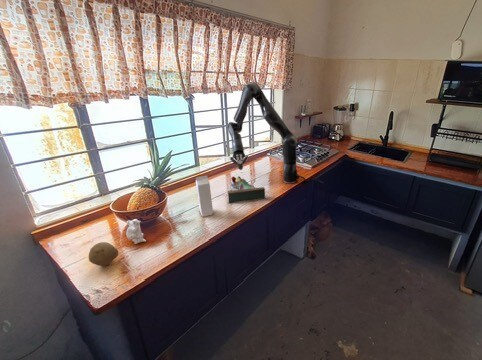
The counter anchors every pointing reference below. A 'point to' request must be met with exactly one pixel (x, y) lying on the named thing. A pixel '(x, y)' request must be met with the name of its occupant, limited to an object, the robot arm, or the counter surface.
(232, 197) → the shoe rail
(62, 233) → the counter surface
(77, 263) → the counter surface
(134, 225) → the koala figurine
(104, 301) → the counter surface
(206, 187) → the milk
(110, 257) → the brown rounded lump
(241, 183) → the sneaker
